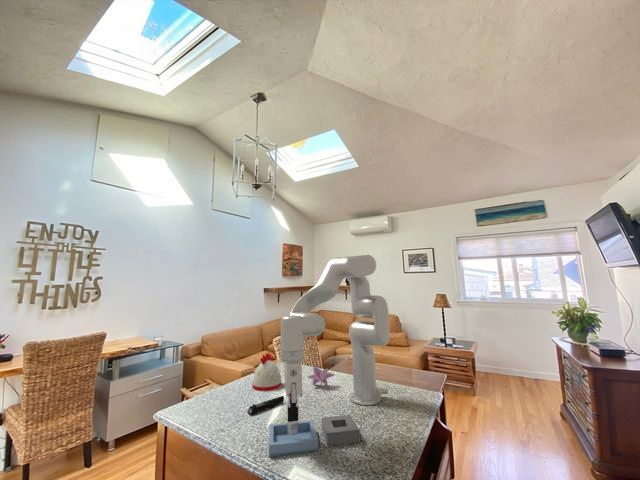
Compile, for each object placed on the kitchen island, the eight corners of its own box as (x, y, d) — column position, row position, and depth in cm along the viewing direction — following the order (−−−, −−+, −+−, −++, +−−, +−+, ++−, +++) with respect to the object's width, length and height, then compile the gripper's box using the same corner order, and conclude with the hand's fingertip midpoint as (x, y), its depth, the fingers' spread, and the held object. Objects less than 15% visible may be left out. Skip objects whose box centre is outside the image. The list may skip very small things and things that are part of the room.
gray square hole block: (350, 426, 92) (350, 414, 93) (359, 442, 83) (359, 429, 83) (321, 429, 91) (321, 417, 91) (327, 446, 81) (327, 433, 82)
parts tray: (312, 430, 90) (312, 420, 91) (318, 451, 78) (318, 439, 79) (269, 434, 88) (269, 424, 88) (268, 457, 76) (269, 445, 77)
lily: (339, 389, 129) (335, 367, 135) (328, 386, 120) (325, 363, 126) (316, 394, 132) (313, 373, 138) (305, 392, 123) (302, 369, 129)
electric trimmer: (286, 405, 111) (286, 396, 112) (251, 417, 101) (251, 407, 101) (281, 402, 114) (281, 394, 114) (246, 413, 104) (247, 404, 104)
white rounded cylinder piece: (297, 429, 85) (297, 394, 87) (298, 434, 82) (298, 398, 84) (287, 430, 85) (287, 395, 87) (287, 435, 82) (287, 399, 84)
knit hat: (246, 387, 131) (246, 354, 133) (267, 379, 142) (267, 348, 144) (266, 393, 123) (267, 358, 125) (287, 384, 134) (287, 351, 136)
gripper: (307, 361, 80) (307, 430, 77) (301, 348, 96) (302, 405, 93) (281, 362, 79) (280, 433, 76) (280, 350, 95) (279, 407, 92)
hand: (292, 417), depth 84 cm, fingers closed on white rounded cylinder piece, 3 cm apart
